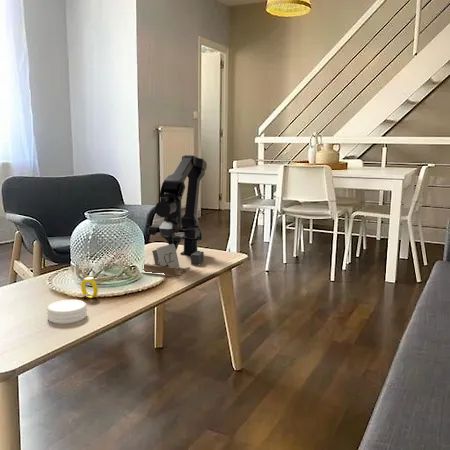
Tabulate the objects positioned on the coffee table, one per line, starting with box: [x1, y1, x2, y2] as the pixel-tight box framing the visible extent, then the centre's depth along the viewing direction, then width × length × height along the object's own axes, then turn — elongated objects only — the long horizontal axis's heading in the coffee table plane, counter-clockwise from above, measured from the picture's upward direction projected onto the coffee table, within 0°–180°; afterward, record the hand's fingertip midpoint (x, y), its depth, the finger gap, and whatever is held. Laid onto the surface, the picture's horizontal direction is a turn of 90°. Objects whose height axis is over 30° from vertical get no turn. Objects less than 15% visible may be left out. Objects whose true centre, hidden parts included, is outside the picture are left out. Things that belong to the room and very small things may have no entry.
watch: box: [80, 276, 99, 299], centre depth 145 cm, size 6×3×6 cm, turn 55°
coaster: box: [46, 299, 88, 325], centre depth 129 cm, size 10×10×4 cm
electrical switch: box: [152, 244, 180, 270], centre depth 175 cm, size 9×5×9 cm, turn 146°
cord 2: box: [190, 250, 205, 266], centre depth 186 cm, size 6×3×4 cm, turn 164°
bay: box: [142, 263, 191, 277], centre depth 175 cm, size 12×14×3 cm
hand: (173, 253), depth 182 cm, fingers closed
